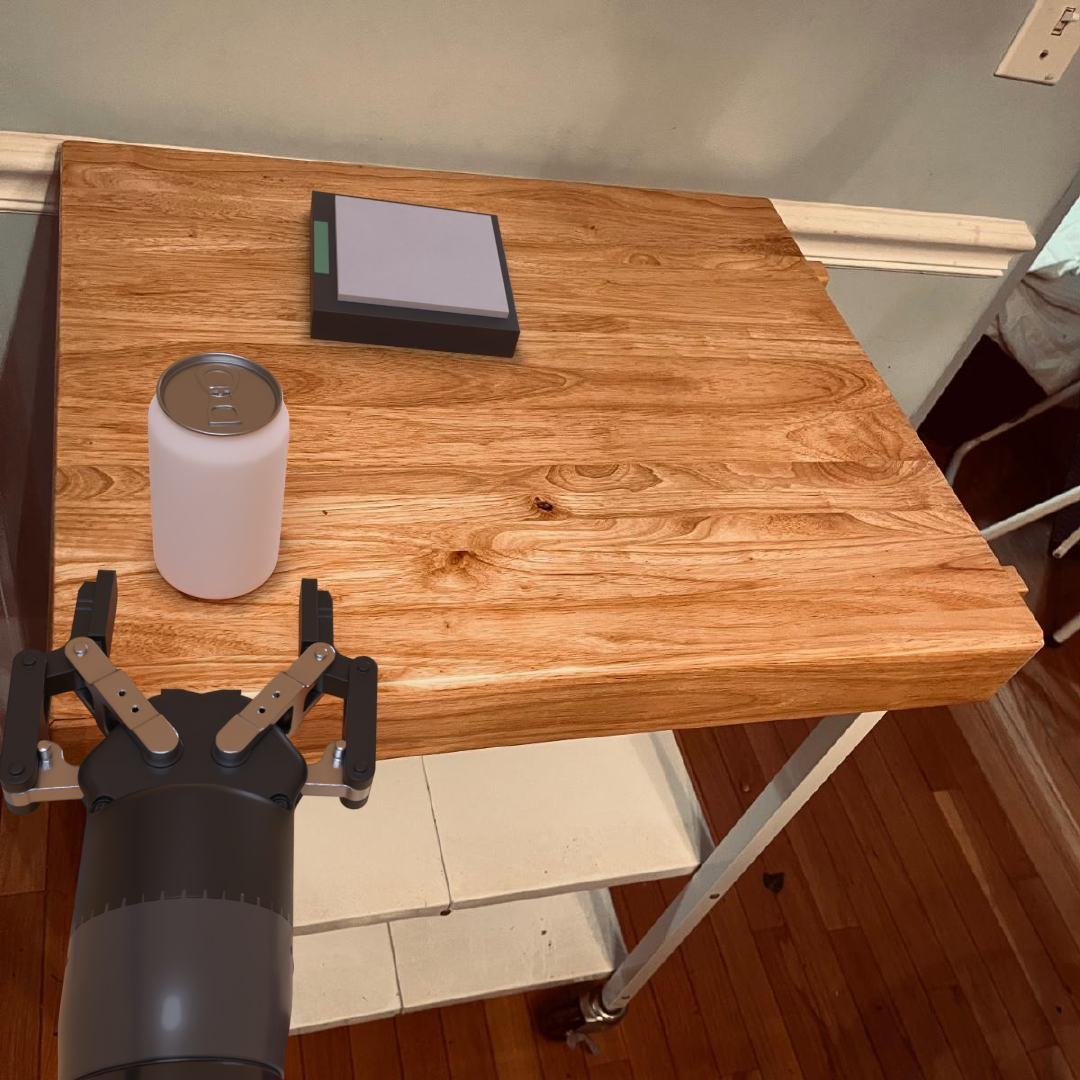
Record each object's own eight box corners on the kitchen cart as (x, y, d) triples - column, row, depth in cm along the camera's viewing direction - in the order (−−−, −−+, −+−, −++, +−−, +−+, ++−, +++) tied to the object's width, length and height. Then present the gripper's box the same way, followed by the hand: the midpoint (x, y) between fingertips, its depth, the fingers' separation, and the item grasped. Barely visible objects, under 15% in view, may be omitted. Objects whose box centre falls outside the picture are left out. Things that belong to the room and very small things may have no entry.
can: (269, 508, 61) (281, 345, 52) (286, 598, 57) (302, 438, 48) (148, 516, 59) (140, 346, 50) (158, 610, 55) (151, 444, 46)
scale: (310, 338, 71) (313, 302, 69) (309, 218, 80) (312, 182, 78) (513, 358, 75) (522, 324, 73) (491, 241, 84) (499, 208, 82)
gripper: (400, 898, 37) (380, 538, 47) (-61, 917, 33) (26, 520, 43) (374, 974, 42) (360, 636, 52) (-25, 998, 38) (45, 629, 49)
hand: (210, 584), depth 48 cm, fingers open, 8 cm apart
